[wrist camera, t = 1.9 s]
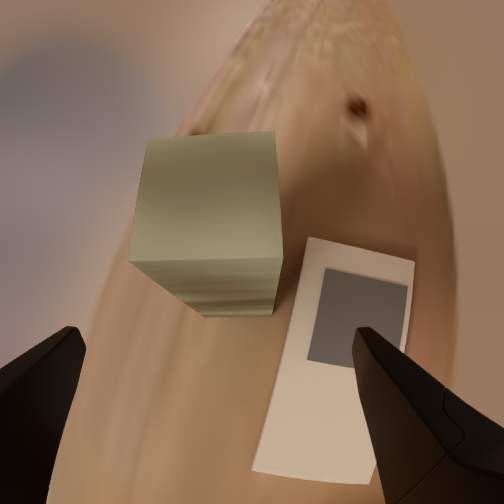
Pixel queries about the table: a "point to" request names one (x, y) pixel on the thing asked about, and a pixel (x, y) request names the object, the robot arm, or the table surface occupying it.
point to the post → (211, 221)
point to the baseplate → (331, 363)
